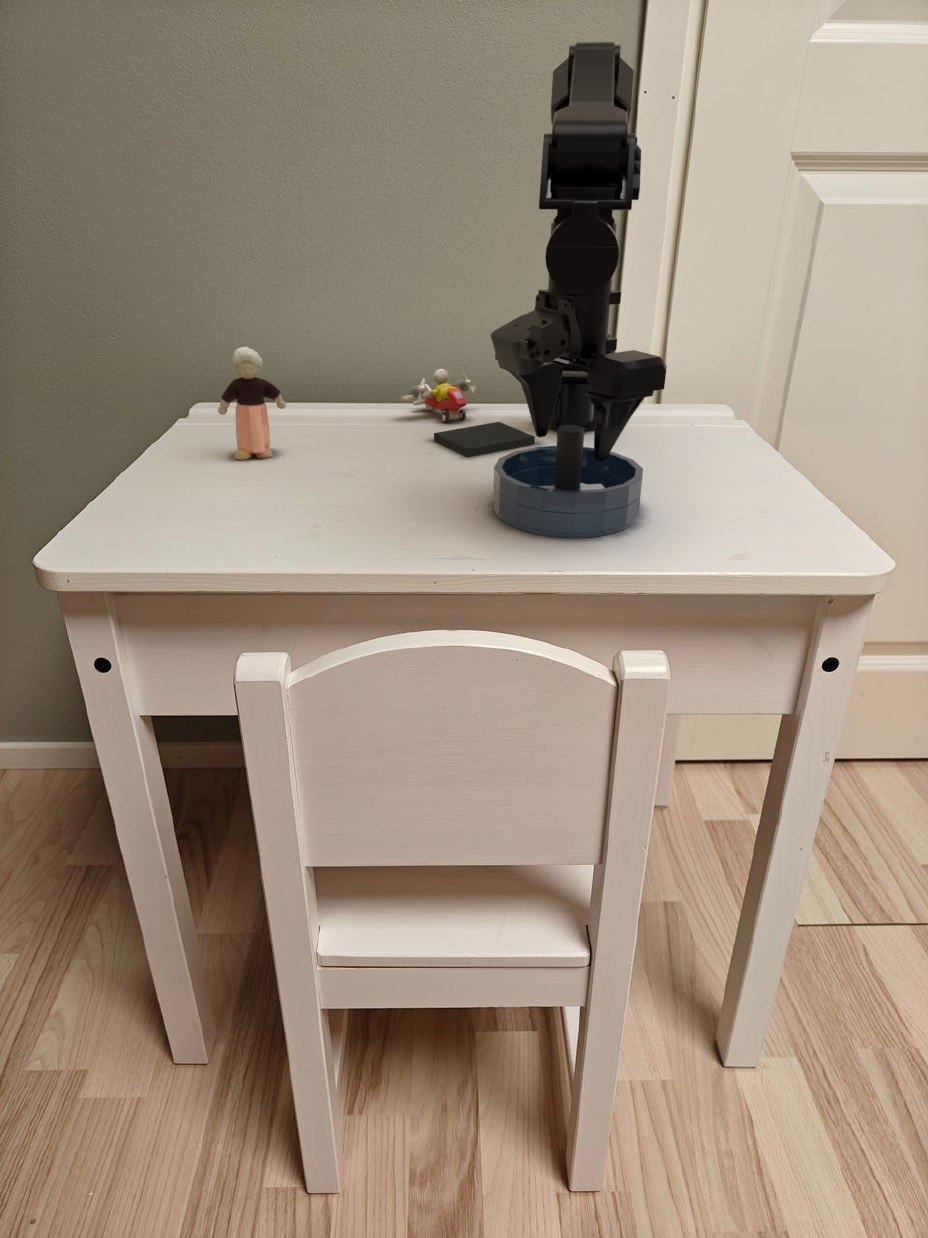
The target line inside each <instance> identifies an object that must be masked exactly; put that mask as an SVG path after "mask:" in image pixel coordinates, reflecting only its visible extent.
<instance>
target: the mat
mask: <svg viewBox="0 0 928 1238" xmlns="http://www.w3.org/2000/svg"><path fill="white" fill-rule="evenodd" d="M535 441H536V435H532V434H530V433H527V432H525V431H523V430H521V429H518V428H516V427H513V426H510V425H509V424H505V423H503V422H500V421H494V422H488V423H484V424H477V425H473V426H471V425H470V426H465V427H459V428H455V429H450V430H449V429H448V430H443V431H438V432H434V433H433V442H436V443H438V444H441V445H442V446H444V447H446V448H448V449H451V450H453V451H455V452H456V453H459V454H461V455H463V456H465V457H467V458H469V457H474V456H480V455H485V454H490V453H495V452H500V451H506V450H510V449H515V448H521V447H525V446H532V445H535V444H536V443H535Z"/></svg>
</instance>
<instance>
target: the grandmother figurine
mask: <svg viewBox="0 0 928 1238" xmlns="http://www.w3.org/2000/svg"><path fill="white" fill-rule="evenodd" d="M232 363H233V367H234V368H235V370H236V372H237V374H238V376H239V377H238V378H235V379H233V380H231V382H230V383H229V385H228V386H227V387H226V389H225V390H224V391H223V394H222V395H221V400H220V403H219V407H218V409H217V413H219V415H221V416H224V415H226V414H227V413H228V408H229V407H230V404H231V403H232V402H234V401H235V400H236V405H235V436H236V448H237V449H238V450H237V451H236V452H235V454H234V456H233V457H234V459H235V460H239V461H240V460H249V459H251V458H252V454H255V457H256V458H259V459H265V458H266V459H267V458H271V457H273V456H274V453H273V452H272V450H270V449H269V448H270V446H271V433H270V422H269V414H268V406H267V403H266V402H265V398H266V399H269V400H273V402H274V403H275V404H276V407H277V409H280V410H283V409H285V408H286V406H287V402H286V401H285V400H284V397H282V394H281V390H280V389H279V388H278V387H276V386H275V385H274V384H272V382H270V381H268V380H266V379H263V378H261V377H257V376H258V375H259V371H260V369H261V368H262V366H263V359H262V357H261V356H260V355H259V353H258V352H257V351H256V350H254V349H253V348H249V347H248V346H241V347H237V349H235V351H234V353H233V355H232Z"/></svg>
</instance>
